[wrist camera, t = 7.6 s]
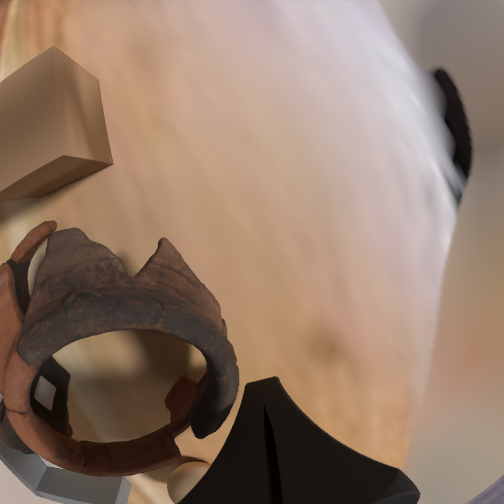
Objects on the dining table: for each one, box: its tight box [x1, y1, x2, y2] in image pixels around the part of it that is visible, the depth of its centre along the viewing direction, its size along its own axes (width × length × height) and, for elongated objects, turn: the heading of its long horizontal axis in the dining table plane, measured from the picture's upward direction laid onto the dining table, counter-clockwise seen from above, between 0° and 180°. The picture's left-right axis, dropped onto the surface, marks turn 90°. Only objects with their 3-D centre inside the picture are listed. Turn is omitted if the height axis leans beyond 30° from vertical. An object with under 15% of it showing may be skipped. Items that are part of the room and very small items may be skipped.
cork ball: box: [167, 462, 211, 504], centre depth 12 cm, size 4×4×4 cm
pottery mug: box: [0, 221, 239, 477], centre depth 9 cm, size 12×10×8 cm
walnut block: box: [0, 46, 114, 201], centre depth 8 cm, size 4×4×4 cm
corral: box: [0, 436, 131, 504], centre depth 11 cm, size 18×9×3 cm, turn 15°
